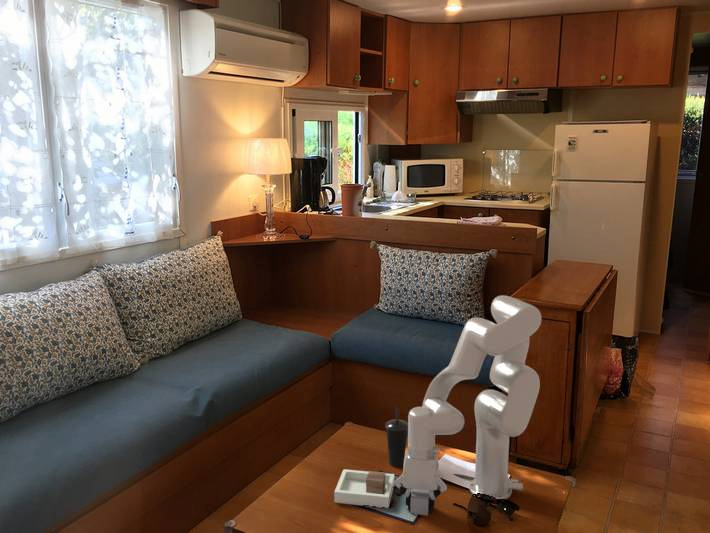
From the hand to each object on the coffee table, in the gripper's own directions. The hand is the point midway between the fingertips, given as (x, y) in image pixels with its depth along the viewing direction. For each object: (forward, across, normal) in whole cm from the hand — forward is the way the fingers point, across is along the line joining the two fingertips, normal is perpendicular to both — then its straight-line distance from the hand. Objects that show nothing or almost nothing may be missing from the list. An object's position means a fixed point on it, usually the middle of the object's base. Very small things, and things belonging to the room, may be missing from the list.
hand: (419, 508), depth 191 cm
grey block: (+1, 0, 0) cm, 1 cm away
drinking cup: (+1, +10, -25) cm, 27 cm away
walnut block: (-1, +14, -6) cm, 15 cm away
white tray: (0, +17, -6) cm, 18 cm away
